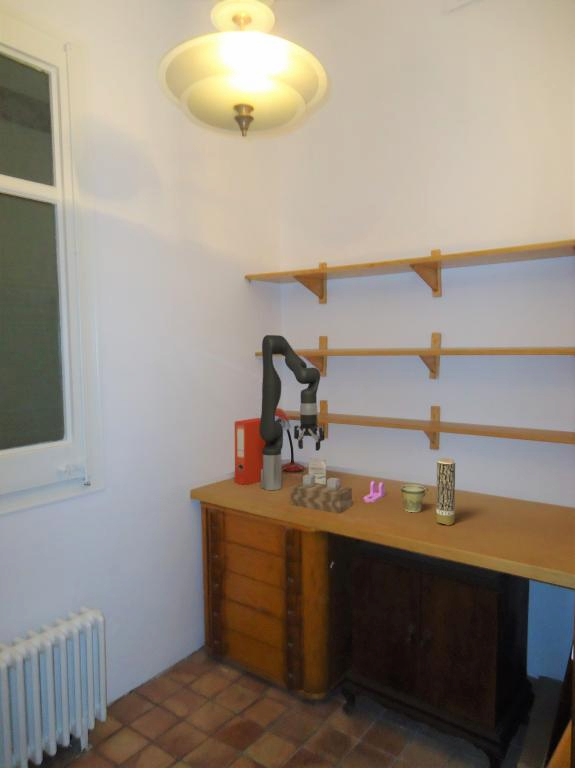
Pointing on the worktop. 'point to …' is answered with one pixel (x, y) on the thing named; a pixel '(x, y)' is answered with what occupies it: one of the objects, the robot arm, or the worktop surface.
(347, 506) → the walnut block
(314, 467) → the ink cartridge box
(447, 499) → the paper tube
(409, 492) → the ceramic cup
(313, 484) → the steel peg
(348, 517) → the worktop surface
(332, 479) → the steel peg
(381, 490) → the bracket
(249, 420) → the file binder
